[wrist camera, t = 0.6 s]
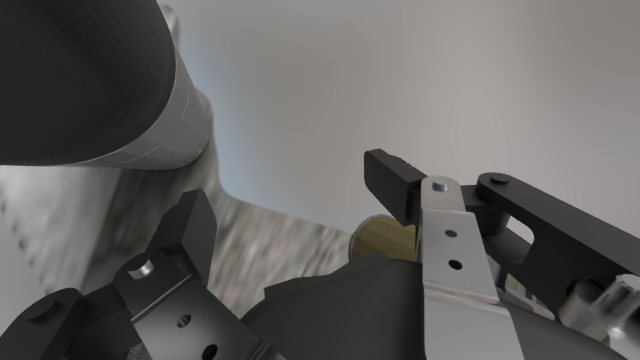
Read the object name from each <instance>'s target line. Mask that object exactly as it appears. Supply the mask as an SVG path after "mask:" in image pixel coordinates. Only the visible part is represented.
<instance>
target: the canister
mask: <svg viewBox="0 0 640 360" xmlns="http://www.w3.org/2000/svg"><path fill="white" fill-rule="evenodd" d="M414 236H415V225H414V224H413V225H410V226H407V227H403V226H402V225H401V224H400V223H399V222H398V221H397V220H396V219H394V218H392V217H391V216H388V215H384V214H379V215H375V216H371V217H369V218H367V219H366V220H364V221H363V222H362V223H361V224H360V225H359V227H358V228H357V229H356V231H355V232H354V234H353V237H352V240H351V243H350V248H349V256H350V261H352V260H354V259H356V258H359V257H362V256H365V255H369V254H372V253H375V252H378V251H381V250H382V251H383V252H384V254H385V255H386V256H387V258H388V259H391V258H392V259H405V260H410V261H413V259H414ZM486 256H487V260H488V263H489V267H490V270H491V274H492V277H493V281H494V284H495V288H496V291H497V295H498V297H500V298H502V299H504V300H507V301H509V302H511V303H514V304H516V305H518V306H521V307H523V308H525V309H528V310H530V311H532V312H534V313H537V314H539V315H541V316H544V317H546V318H548V319H551V320H553V321H554V318H555V317H554V314H553V313H552V312H550V311H549V310H547V309H545V308H543V307H542V306H540V305H538V304H537V303H536V297H535V296H534V295H533V294H532V293H531V292H529V291H528V290H527V289H526V288H525V287H524V286H523V285H522V284H520V283H519V282H518V281H517V280H516V279H515V278H514V277H512V276H511V275H510V274H509V273H508V272H507V271H506V270H505V269H503V268H502V267H501V266H500V265H499V264H498V263H497V262H496V261H494V260H493V259H492V258H491V257H490V256H489V255H488V254H487V253H486Z"/></svg>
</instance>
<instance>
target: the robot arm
mask: <svg viewBox="0 0 640 360" xmlns="http://www.w3.org/2000/svg"><path fill="white" fill-rule="evenodd" d="M209 136H210V125H209V121H208V117H207V115H206V112H205V110H204V107H203V105H202V103H201V101H200V98H199V96H198V94H197V91H196V89H195V87H194V85H193V82H192V80H191V78H190V75H189V73H188V71H187V68H186V66H185V64H184V62H183V59H182V57H181V55H180V52H179V51H178V48H177V46H176V44H175V42H174V39H173V37H172V35H171V32H170V30H169V28H168V25H167V23H166V21H165V18H164V16H163V14H162V12H161V10H160V8H159V6H158V4H157V2H156V0H0V165H14V166H49V167H89V168H120V169H148V170H170V169H177V168H180V167H183V166H186V165H188V164H190V163H191V162H193V161H194V160H196V159H197V158H198V157H199V156H200V155H201V154H202V152H203V151H204V150H205V148H206V146H207V144H208V141H209ZM364 180H365V184H366V186H367V188H368V189H369V191H370V192H371V193H372V194H373V195H374V196H375V197H376V198H377V199H378V200H379V201H380V203H381V204H382V205H383V206H384V207H385V208H386V209H387V210H388V211H389V212H390V213H391V214H392V215H393V217H394V218H395V219H396V220H397V221H398V222H399V223H400V224H401V225H402V226H403V227H407V226H410V225H413V224H414V225H415V236H414V259H413V261H410V260H405V259H392V258H391V259H388V258H387V256H386V255H385V254H384V252H383V251H382V250H381V251H378V252H375V253H372V254H369V255H365V256H362V257H359V258H356V259H354V260H352V261H351V262H349V263H348V264H346V265H344V266H343V267H341V268H339V269H338V270H336V271H334V272H333V273H331V274H329V275H323V276H312V277H301V278H294V279H291V280H288V281H285V282H281V283H278V284H275V285H272V286H269V287H266V288H264V292H265V299H264V300H262V301H261V302H259V303H258V304H257V305H255V306H254V307H253V308H251V309H250V310H249V311H248V312H247V313H246V314H245V315H244V316H243V317H242V318H241V319H240V320H239V319H238V318H237V317H236V316H235V315H234V314H233V313H232V312H231V311H230V310H229V309H228V308H227V307H226V306H225V305H223V304H222V303H221V302H220V301H219V300H218V299H217V298H216V297H215V296H214V295H213V294H212V293H211V292H210V291H209V290H208V289H207V288H206V287H207V285H208V279H209V273H210V267H211V261H212V255H213V249H214V243H215V237H216V231H217V222H216V218H215V215H214V213H213V210H212V208H211V206H210V203H209V201H208V199H207V197H206V194H205V192H204V191H203V190H202V189H197V190H193V191H188V192H184V193H183V194H182V196H181V198H180V200H179V202H178V204H177V205H175V206H172V207H171V208H170V209H169V210H168V211H167V212H166V213H165V214H164V216H163V218H162V219H161V221H160V224H159V225H158V227H157V229H156V230H157V231H155V233H154V235H153V237H152V239H151V241H150V243H149V245H148V247H147V249H146V251H145V252H144V253H142V254H139V255H137V256H136V257H134V258H132V259H131V260H129V261H128V262H126V263H125V264H124V265H123V266H122V267H121V268H120V269H119V270H118V271H117V273H116V274H115V276H114V279H113V282H112V283H110V284H108V285H106V286H104V287H102V288H100V289H98V290H96V291H94V292H92V293H90V294H87V295H85V296H83V295H82V294H81V293H80V292H79V291H78V290H77V289H75V288H66V289H62V290H59V291H56V292H54V293H51V294H49V295H47V296H45V297H43V298H42V299H40V300H39V301H37V302H35V303H34V304H32V305H31V306H30V307H28V308H27V309H26V310H24V312H22V313H21V314H20V315H19V316H18V317H17V318H16V319H15V320H14V321H13V322H12V323H11V325H10V326H9V327H8V328H7V330H6V331H5V332H4V333H3V335H2V336H1V337H0V360H126V358H127V356H128V353H129V350H130V349H131V348H133V347H134V346H136V345H138V344H139V343H141V342H143V343H144V345H145V346H146V348H147V350H148V351H149V353H150V355H151V357H152V358H153V360H640V239H639V238H637V237H635V236H633V235H631V234H629V233H627V232H625V231H623V230H621V229H619V228H617V227H615V226H613V225H610V224H608V223H606V222H604V221H602V220H600V219H598V218H596V217H594V216H592V215H590V214H588V213H586V212H584V211H582V210H580V209H578V208H575V207H573V206H572V205H569V204H568V203H566V202H563V201H561V200H559V199H557V198H555V197H553V196H551V195H549V194H547V193H545V192H543V191H541V190H539V189H537V188H535V187H533V186H530V185H529V184H527V183H525V182H523V181H521V180H518V179H516V178H514V177H512V176H509V175H506V174H501V173H484V174H481V175H480V176H479V177H478V180H477V184H476V185H464V186H460V185H459V184H458V183H457V182H456V181H455V180H453V179H451V178H448V177H443V176H430V177H428V176H427V175H425V174H424V173H422V172H420V171H419V170H418V169H416V168H415V167H412V165H410V164H409V163H407V162H405V161H404V160H402V159H401V158H398V157H396V156H392V155H389V154H388V153H386V152H385V151H383V150H382V149H374V150H370V151H366V152H365V153H364ZM510 216H512V217H514V218H515V219H517V220H519V221H520V222H522V223H523V224H525V225H526V226H528V227H529V228H530V229H531V230H532V232H533V234H534V242H533V244H532V245H531V244H530V243H528V242H527V241H525V240H524V239H523V238H521V237H520V236H518V235H517V234H516V233H514V232H513V231H511V230H510V229H508V228H507V227H506V226H507V223H508V221H509V218H510ZM486 253H487V254H488V255H489V256H490V257H491V258H492V259H493V260H494V261H496V262H497V263H498V264H499V265H500V266H501V267H502V268H503V269H505V270H506V271H507V272H508V273H509V274H510V275H511V276H512V277H514V278H515V279H516V280H517V281H518V282H519V283H520V284H522V285H523V286H524V287H525V288H526V289H527V290H528V291H529V292H531V293H532V294H533V295H534V296H535V297H536V298H537V299H538V300H540V301H541V302H542V303H543V304H544V305H545V306H546V307H547V308H549V309H550V310H551V311H552V312H553V313H554V314H555V315H556V316H558V317H559V318H560V320H561V322H562V324H563V325H562V324H560V323H558V322H555V321H553V320H551V319H548V318H546V317H544V316H541V315H539V314H537V313H534V312H532V311H530V310H528V309H525V308H523V307H521V306H518V305H516V304H514V303H511V302H509V301H507V300H504V299H502V298H500V297H498V295H497V291H496V288H495V284H494V281H493V277H492V274H491V270H490V267H489V263H488V260H487V256H486Z"/></svg>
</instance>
